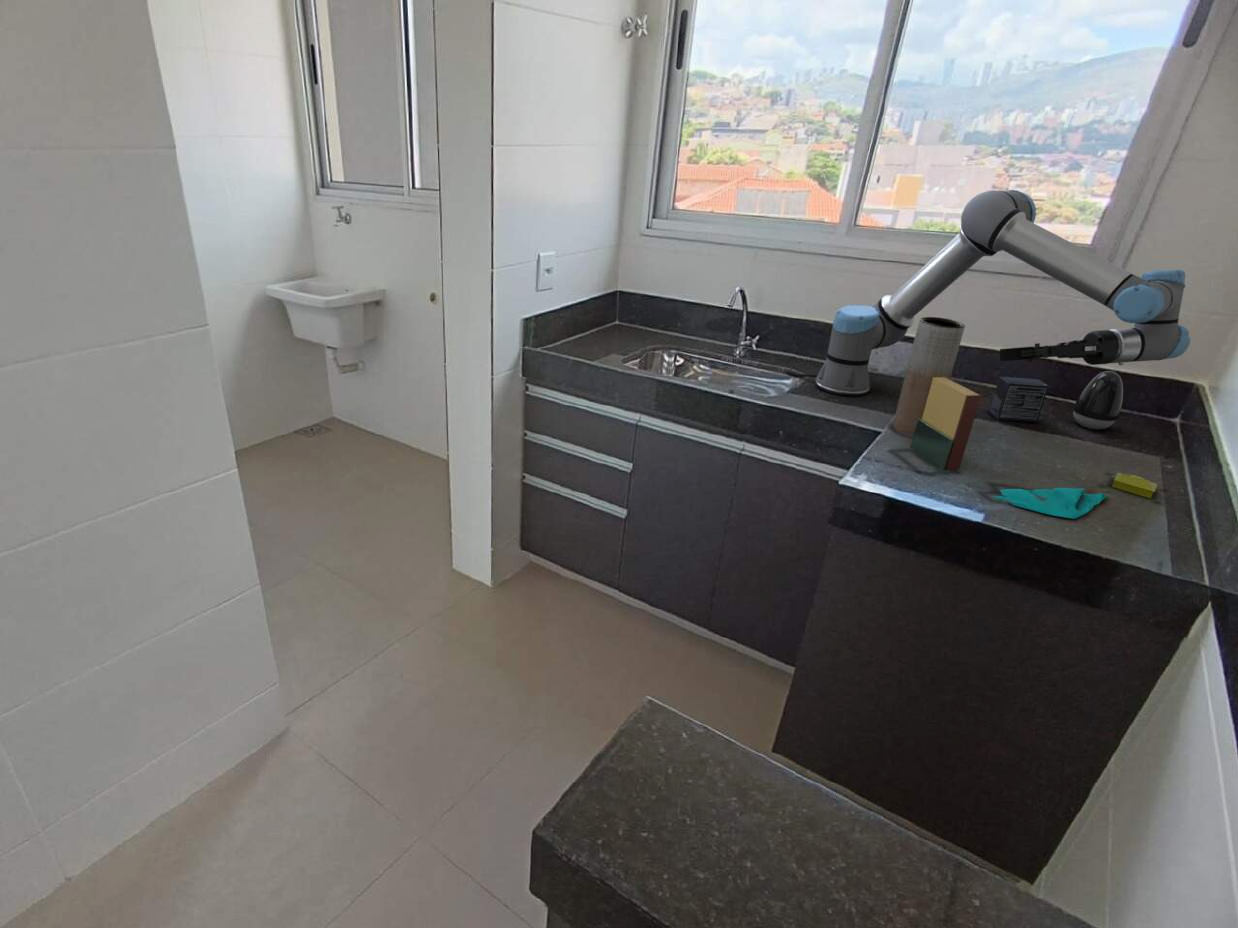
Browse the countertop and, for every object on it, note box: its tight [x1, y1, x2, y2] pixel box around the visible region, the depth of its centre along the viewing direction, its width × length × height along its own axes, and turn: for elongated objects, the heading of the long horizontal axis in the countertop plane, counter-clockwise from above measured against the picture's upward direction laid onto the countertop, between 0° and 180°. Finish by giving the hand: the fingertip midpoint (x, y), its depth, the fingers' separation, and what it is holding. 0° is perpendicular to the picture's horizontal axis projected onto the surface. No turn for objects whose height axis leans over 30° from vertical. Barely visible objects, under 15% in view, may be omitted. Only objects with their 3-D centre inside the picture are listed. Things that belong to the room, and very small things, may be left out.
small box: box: [988, 376, 1050, 424], centre depth 177 cm, size 11×6×10 cm, turn 84°
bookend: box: [910, 419, 953, 471], centre depth 147 cm, size 5×12×8 cm, turn 11°
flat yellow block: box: [1111, 472, 1164, 504], centre depth 142 cm, size 10×9×3 cm
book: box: [922, 377, 982, 471], centre depth 146 cm, size 3×12×18 cm, turn 11°
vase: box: [892, 316, 966, 436], centre depth 160 cm, size 10×10×28 cm
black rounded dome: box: [1072, 370, 1124, 431], centre depth 173 cm, size 10×10×15 cm
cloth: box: [993, 486, 1108, 520], centre depth 134 cm, size 26×14×2 cm, turn 84°
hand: (1001, 355), depth 147 cm, fingers closed
